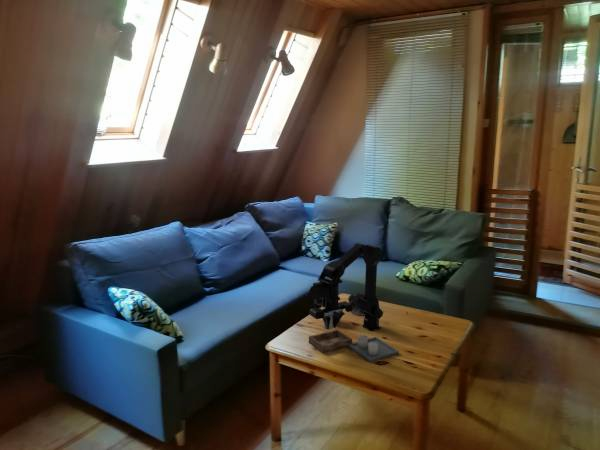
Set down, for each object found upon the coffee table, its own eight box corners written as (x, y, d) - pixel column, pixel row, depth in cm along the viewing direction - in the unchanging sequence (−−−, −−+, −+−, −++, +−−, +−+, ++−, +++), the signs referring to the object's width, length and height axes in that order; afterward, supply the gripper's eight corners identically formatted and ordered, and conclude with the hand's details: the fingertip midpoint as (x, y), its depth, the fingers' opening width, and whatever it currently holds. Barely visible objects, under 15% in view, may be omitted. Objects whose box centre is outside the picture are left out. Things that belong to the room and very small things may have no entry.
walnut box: (337, 335, 207) (337, 329, 207) (351, 345, 198) (352, 338, 197) (308, 342, 200) (308, 336, 199) (322, 353, 191) (322, 346, 190)
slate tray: (375, 339, 204) (375, 336, 203) (398, 354, 191) (398, 350, 191) (347, 347, 196) (347, 344, 196) (369, 362, 184) (370, 359, 183)
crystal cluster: (380, 312, 235) (380, 293, 235) (364, 318, 226) (365, 298, 225) (358, 307, 245) (359, 289, 244) (343, 312, 235) (343, 293, 234)
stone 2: (361, 343, 198) (361, 334, 197) (369, 346, 195) (369, 336, 194) (355, 347, 195) (356, 337, 194) (363, 350, 192) (364, 340, 191)
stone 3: (375, 351, 192) (375, 341, 191) (379, 355, 188) (379, 345, 187) (366, 352, 191) (366, 342, 190) (370, 356, 187) (370, 346, 186)
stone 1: (334, 328, 199) (334, 318, 198) (326, 330, 197) (326, 320, 196) (329, 324, 202) (329, 315, 201) (321, 326, 200) (321, 317, 199)
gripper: (339, 284, 206) (338, 317, 209) (302, 291, 196) (302, 326, 200) (354, 292, 196) (352, 326, 200) (316, 300, 187) (316, 336, 190)
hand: (330, 328), depth 198 cm, fingers closed on stone 1, 3 cm apart
